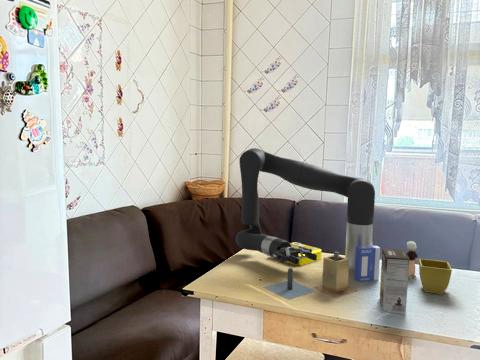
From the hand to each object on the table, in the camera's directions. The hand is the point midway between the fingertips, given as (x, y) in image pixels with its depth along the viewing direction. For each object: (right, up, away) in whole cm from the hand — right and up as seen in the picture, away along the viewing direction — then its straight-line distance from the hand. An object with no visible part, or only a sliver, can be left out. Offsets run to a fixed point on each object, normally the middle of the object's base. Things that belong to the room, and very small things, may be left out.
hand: (307, 259), depth 141 cm
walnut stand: (+7, -8, -9) cm, 14 cm away
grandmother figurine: (+37, -7, +5) cm, 38 cm away
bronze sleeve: (+7, -8, -9) cm, 14 cm away
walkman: (+20, -7, 0) cm, 22 cm away
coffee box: (+21, -10, -21) cm, 31 cm away
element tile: (0, -5, +25) cm, 25 cm away
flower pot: (+39, -9, -8) cm, 41 cm away
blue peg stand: (-7, -8, -10) cm, 14 cm away
